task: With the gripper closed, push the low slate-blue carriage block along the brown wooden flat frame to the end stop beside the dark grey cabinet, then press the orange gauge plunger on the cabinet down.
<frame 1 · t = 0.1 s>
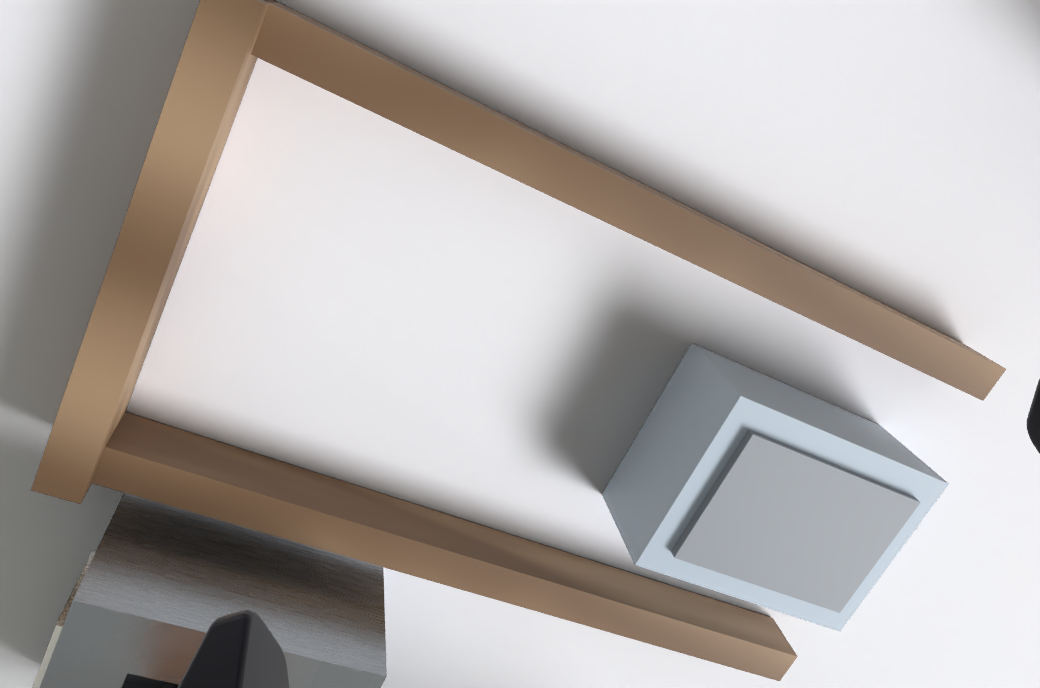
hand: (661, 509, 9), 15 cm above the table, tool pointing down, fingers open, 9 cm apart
carriage: (739, 455, 28), on the table
cabinet: (219, 611, 27), on the table
brown wooden flat frame: (552, 385, 26), on the table
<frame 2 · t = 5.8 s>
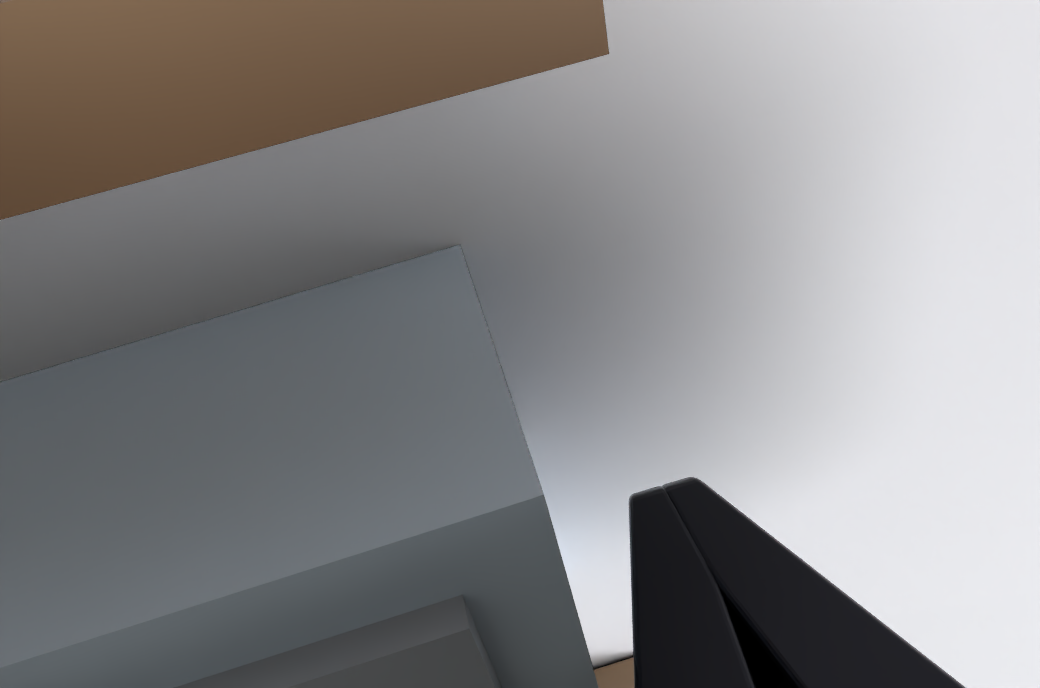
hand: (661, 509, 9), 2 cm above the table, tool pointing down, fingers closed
carriage: (212, 512, 11), on the table, touching gripper
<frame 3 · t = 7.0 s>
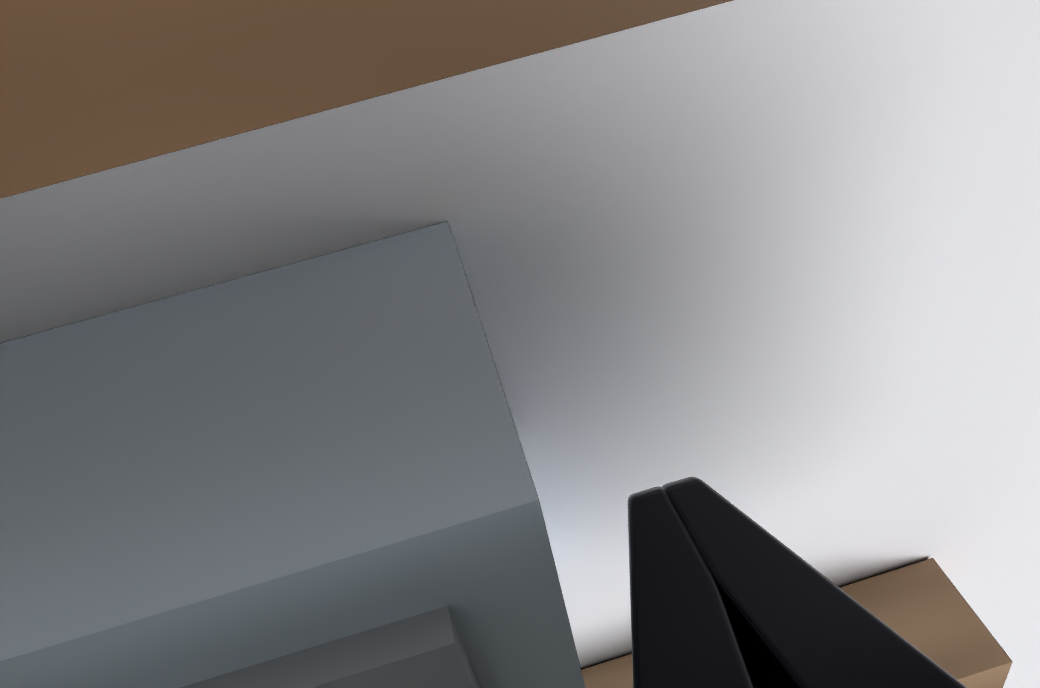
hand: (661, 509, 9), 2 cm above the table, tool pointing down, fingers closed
carriage: (183, 509, 10), on the table, touching gripper
brown wooden flat frame: (30, 593, 10), on the table
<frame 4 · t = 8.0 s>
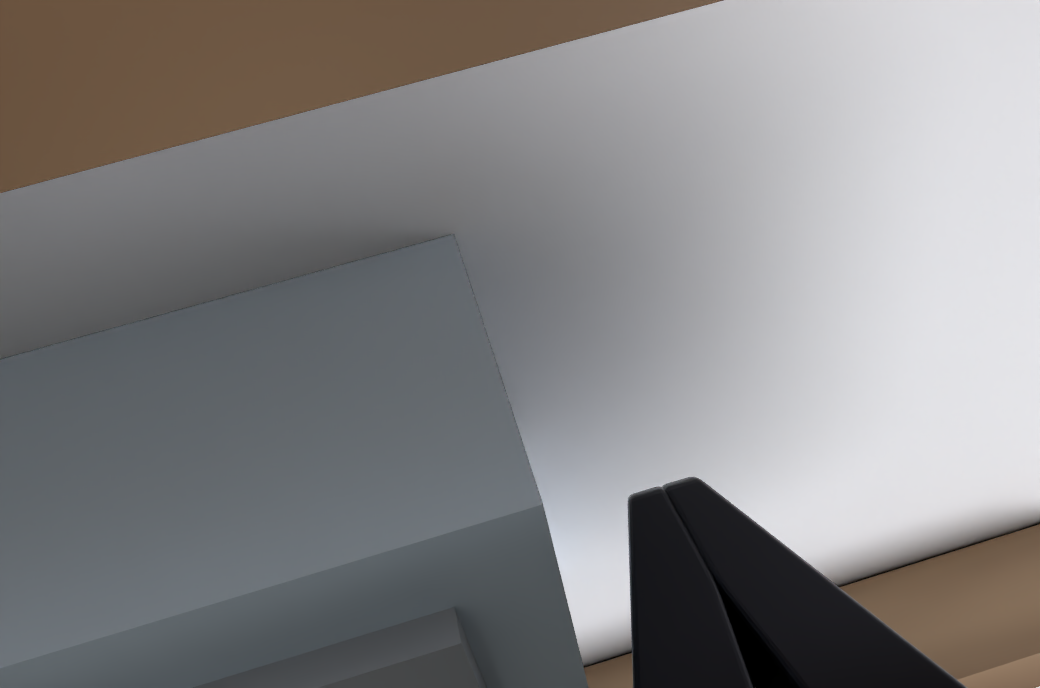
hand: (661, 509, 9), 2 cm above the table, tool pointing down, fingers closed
carriage: (193, 512, 10), on the table, touching gripper
brown wooden flat frame: (279, 516, 10), on the table
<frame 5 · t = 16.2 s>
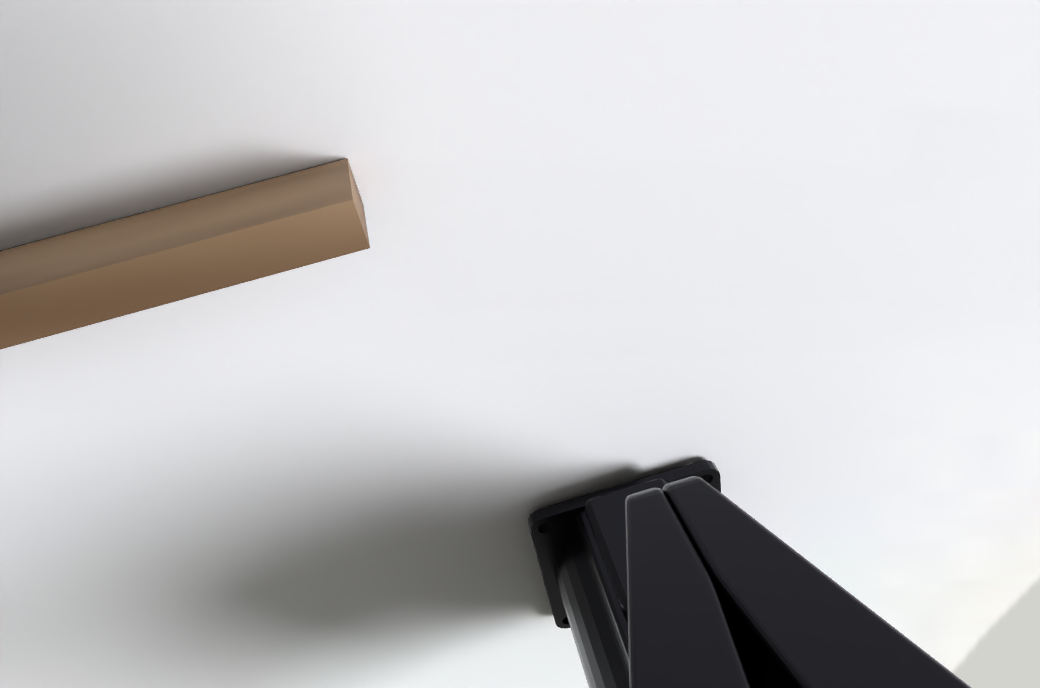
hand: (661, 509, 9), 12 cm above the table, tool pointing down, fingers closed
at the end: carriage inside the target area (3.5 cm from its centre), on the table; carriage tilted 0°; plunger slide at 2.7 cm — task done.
